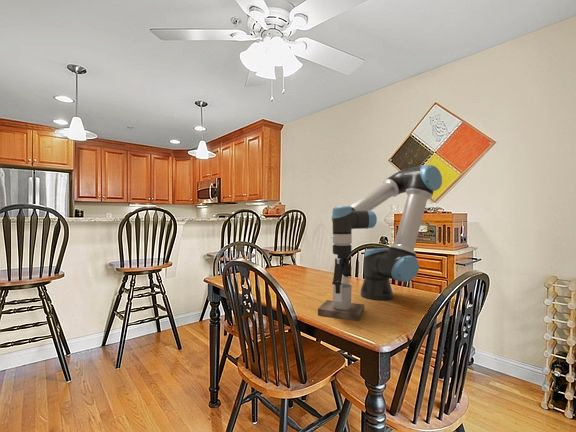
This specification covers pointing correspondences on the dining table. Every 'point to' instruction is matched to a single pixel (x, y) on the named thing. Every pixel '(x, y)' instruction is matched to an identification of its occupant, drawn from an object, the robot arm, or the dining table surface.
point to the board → (341, 311)
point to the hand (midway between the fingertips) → (342, 296)
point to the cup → (343, 297)
